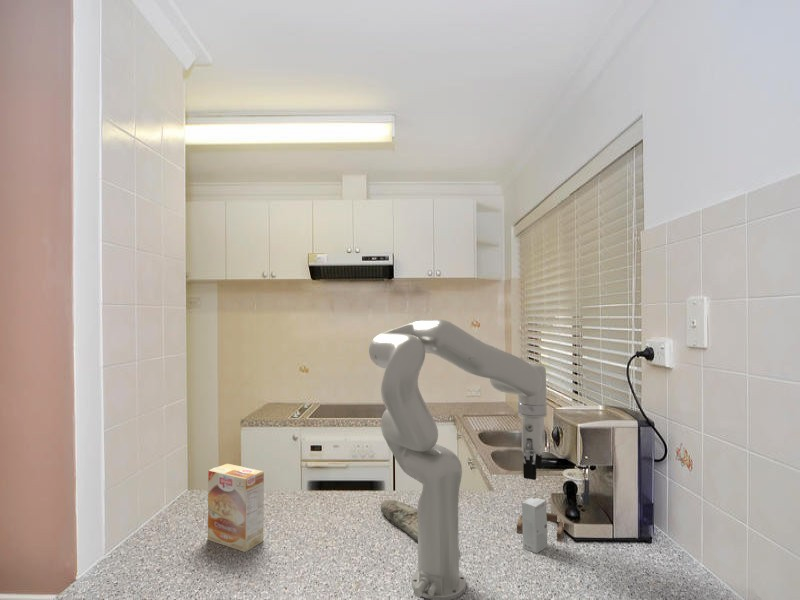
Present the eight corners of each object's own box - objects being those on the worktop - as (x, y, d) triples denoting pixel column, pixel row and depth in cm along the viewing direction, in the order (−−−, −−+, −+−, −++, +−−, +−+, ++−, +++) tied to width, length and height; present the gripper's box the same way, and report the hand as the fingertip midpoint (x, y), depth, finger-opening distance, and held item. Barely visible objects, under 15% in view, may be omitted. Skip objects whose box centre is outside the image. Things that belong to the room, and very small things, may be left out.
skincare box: (537, 554, 116) (536, 507, 116) (521, 548, 119) (521, 502, 119) (548, 545, 120) (547, 500, 120) (533, 539, 123) (532, 495, 124)
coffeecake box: (206, 540, 124) (207, 469, 125) (227, 529, 130) (227, 462, 131) (244, 553, 117) (245, 478, 118) (264, 541, 123) (264, 470, 124)
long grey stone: (436, 568, 112) (466, 559, 117) (437, 547, 112) (467, 539, 117) (371, 510, 142) (398, 505, 147) (372, 494, 142) (399, 489, 147)
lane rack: (560, 541, 122) (560, 534, 122) (516, 532, 127) (516, 525, 127) (565, 522, 133) (565, 515, 133) (524, 515, 138) (524, 508, 139)
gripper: (541, 417, 111) (542, 486, 111) (550, 405, 127) (551, 465, 126) (511, 414, 115) (512, 481, 114) (523, 403, 130) (524, 462, 129)
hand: (533, 473), depth 120 cm, fingers open, 9 cm apart
